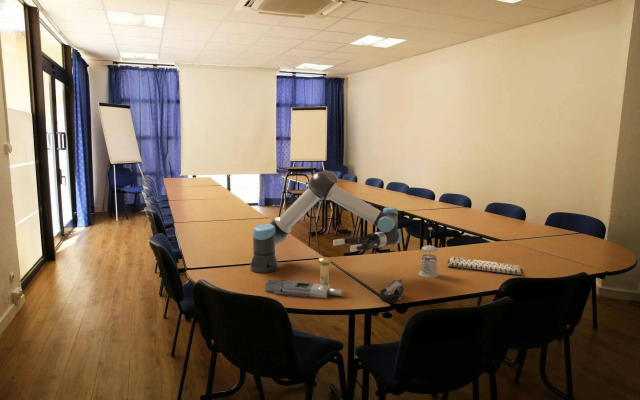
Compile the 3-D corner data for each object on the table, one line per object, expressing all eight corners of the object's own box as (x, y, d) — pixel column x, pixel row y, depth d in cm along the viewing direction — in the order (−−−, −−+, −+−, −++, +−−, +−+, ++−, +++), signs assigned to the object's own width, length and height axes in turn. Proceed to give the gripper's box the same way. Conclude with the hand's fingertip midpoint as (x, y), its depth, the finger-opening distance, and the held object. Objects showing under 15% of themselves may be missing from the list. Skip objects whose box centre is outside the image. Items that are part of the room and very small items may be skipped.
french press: (427, 278, 209) (429, 229, 205) (412, 271, 219) (414, 225, 216) (442, 275, 213) (444, 228, 210) (426, 269, 224) (428, 224, 220)
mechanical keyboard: (519, 268, 229) (519, 262, 229) (522, 278, 212) (522, 272, 211) (448, 261, 243) (448, 255, 243) (446, 270, 225) (446, 264, 225)
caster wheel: (383, 308, 177) (378, 296, 186) (409, 303, 177) (403, 291, 186) (381, 295, 175) (376, 283, 184) (407, 289, 175) (401, 278, 184)
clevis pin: (317, 289, 192) (317, 259, 190) (320, 285, 197) (320, 256, 195) (328, 290, 191) (329, 260, 189) (331, 286, 196) (331, 257, 194)
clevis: (263, 292, 187) (263, 285, 186) (270, 286, 196) (270, 278, 195) (339, 300, 179) (339, 292, 178) (343, 293, 187) (343, 285, 187)
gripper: (392, 252, 199) (358, 259, 187) (359, 242, 219) (326, 248, 207) (393, 237, 198) (358, 243, 186) (359, 228, 218) (327, 233, 206)
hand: (341, 245), depth 197 cm, fingers open, 13 cm apart
